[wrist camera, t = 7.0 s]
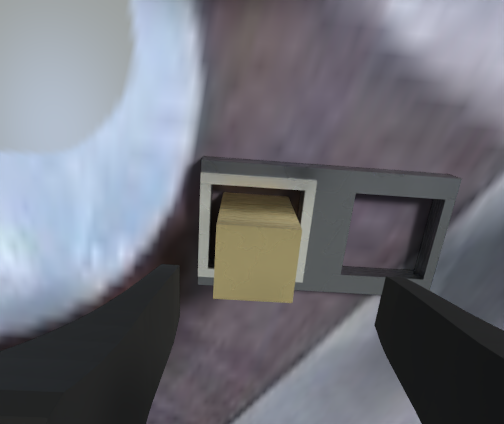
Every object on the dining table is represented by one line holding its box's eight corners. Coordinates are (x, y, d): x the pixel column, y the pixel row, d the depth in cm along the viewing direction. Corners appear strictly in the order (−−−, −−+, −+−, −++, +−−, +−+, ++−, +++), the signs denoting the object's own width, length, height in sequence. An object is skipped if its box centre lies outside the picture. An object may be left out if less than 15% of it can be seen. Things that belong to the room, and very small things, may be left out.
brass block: (288, 196, 21) (302, 229, 16) (281, 254, 22) (292, 302, 17) (223, 191, 21) (216, 224, 15) (220, 250, 22) (213, 298, 17)
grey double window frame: (449, 174, 20) (463, 179, 19) (418, 287, 23) (428, 299, 22) (204, 156, 20) (200, 160, 18) (200, 275, 22) (197, 286, 21)
